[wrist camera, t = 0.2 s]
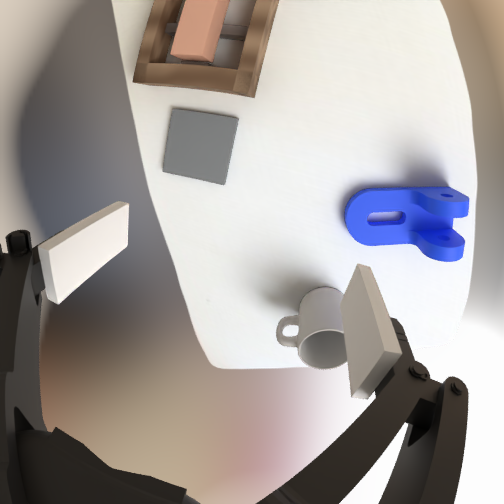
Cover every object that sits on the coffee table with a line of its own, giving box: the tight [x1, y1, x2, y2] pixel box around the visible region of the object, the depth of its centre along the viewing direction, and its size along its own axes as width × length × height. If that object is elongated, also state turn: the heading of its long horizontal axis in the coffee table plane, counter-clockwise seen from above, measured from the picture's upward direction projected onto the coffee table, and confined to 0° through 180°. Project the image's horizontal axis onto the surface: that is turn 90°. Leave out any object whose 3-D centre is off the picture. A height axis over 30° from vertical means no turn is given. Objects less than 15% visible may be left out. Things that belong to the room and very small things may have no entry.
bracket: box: [344, 187, 469, 262], centre depth 35 cm, size 18×8×9 cm, turn 98°
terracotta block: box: [170, 0, 230, 63], centre depth 28 cm, size 12×4×4 cm, turn 167°
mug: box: [276, 287, 347, 370], centre depth 43 cm, size 12×8×11 cm
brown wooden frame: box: [133, 0, 279, 98], centre depth 29 cm, size 21×17×5 cm
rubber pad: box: [163, 109, 239, 185], centre depth 39 cm, size 10×10×1 cm
